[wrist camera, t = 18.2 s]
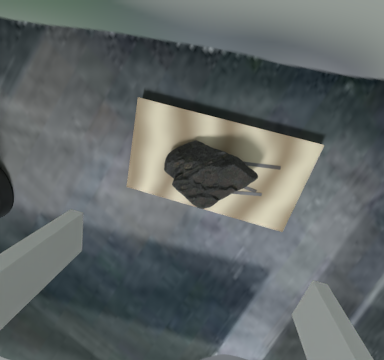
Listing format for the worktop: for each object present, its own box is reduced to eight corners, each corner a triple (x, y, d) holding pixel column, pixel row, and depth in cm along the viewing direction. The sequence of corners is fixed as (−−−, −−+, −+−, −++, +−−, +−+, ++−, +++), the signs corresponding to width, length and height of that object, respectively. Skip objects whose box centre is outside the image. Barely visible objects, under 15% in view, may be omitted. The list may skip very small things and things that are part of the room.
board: (130, 183, 33) (126, 186, 32) (142, 98, 28) (137, 97, 27) (279, 226, 32) (282, 232, 30) (319, 143, 27) (324, 145, 25)
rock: (162, 160, 31) (195, 215, 30) (150, 156, 25) (191, 223, 24) (219, 123, 30) (254, 179, 29) (220, 110, 24) (264, 179, 23)
